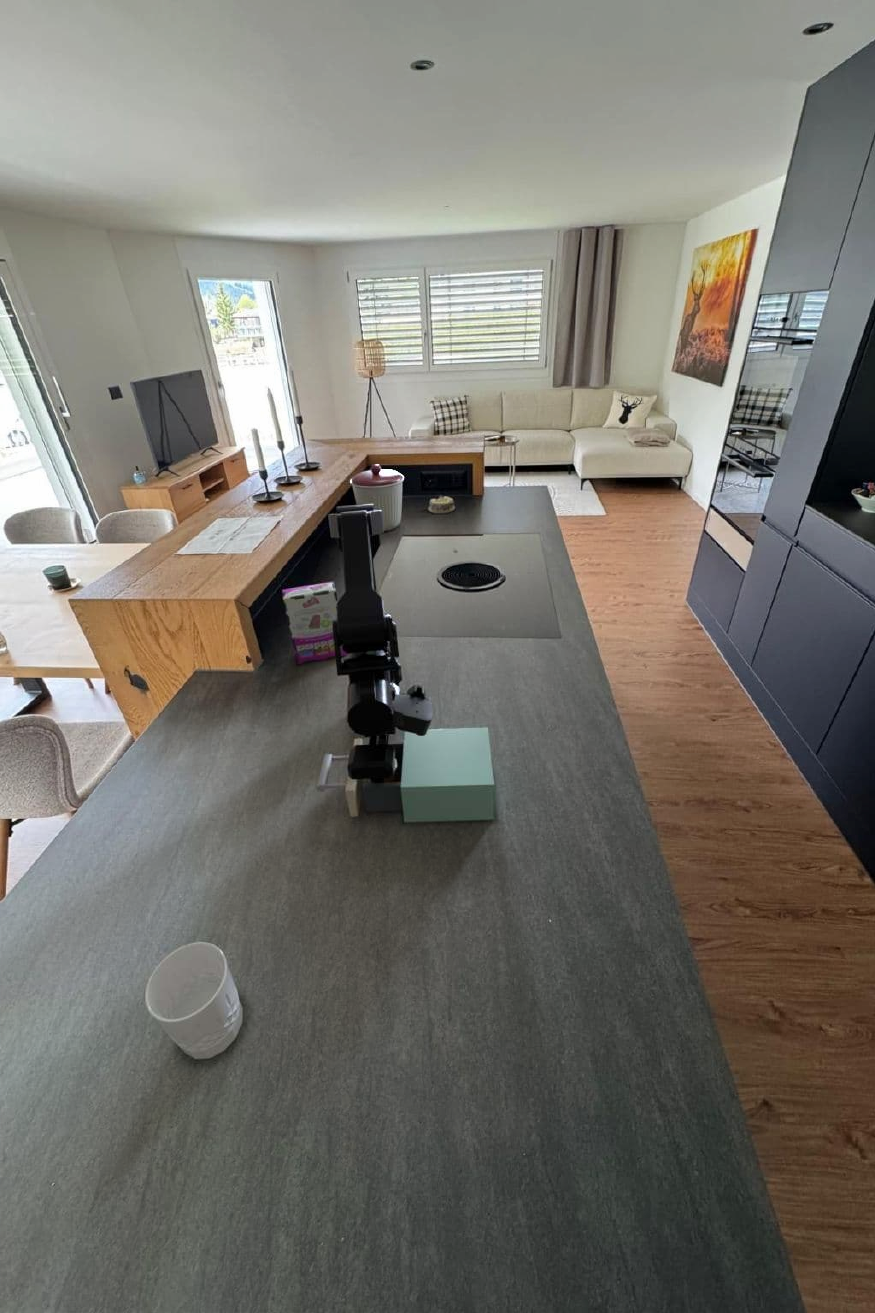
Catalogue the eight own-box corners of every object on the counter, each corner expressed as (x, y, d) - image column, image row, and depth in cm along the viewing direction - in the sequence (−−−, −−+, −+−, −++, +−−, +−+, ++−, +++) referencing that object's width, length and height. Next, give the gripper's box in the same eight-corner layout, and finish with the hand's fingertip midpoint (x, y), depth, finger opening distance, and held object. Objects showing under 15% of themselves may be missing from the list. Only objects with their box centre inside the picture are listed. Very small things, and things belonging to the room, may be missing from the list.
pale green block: (404, 822, 85) (400, 787, 81) (408, 763, 95) (404, 730, 91) (493, 819, 84) (494, 784, 80) (487, 761, 95) (487, 727, 91)
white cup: (256, 986, 65) (235, 939, 60) (238, 1064, 59) (213, 1019, 53) (189, 990, 65) (162, 944, 60) (163, 1068, 59) (131, 1024, 53)
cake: (460, 511, 205) (460, 496, 202) (437, 517, 201) (437, 502, 197) (445, 502, 211) (445, 488, 208) (423, 507, 207) (422, 494, 204)
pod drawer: (318, 817, 85) (312, 791, 82) (330, 764, 95) (325, 739, 91) (431, 814, 85) (429, 787, 81) (432, 761, 94) (430, 735, 91)
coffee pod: (367, 795, 87) (364, 777, 85) (370, 772, 91) (367, 754, 89) (398, 794, 87) (396, 776, 85) (400, 771, 91) (398, 753, 89)
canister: (417, 522, 195) (413, 460, 184) (387, 539, 183) (381, 474, 171) (376, 514, 203) (370, 455, 192) (345, 530, 191) (336, 468, 179)
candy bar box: (344, 644, 129) (334, 580, 120) (347, 655, 125) (337, 590, 116) (295, 653, 126) (281, 588, 117) (297, 665, 122) (282, 598, 113)
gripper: (426, 731, 71) (432, 813, 79) (428, 651, 86) (433, 727, 95) (339, 733, 71) (354, 816, 79) (357, 653, 86) (368, 729, 95)
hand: (381, 768), depth 87 cm, fingers open, 6 cm apart
